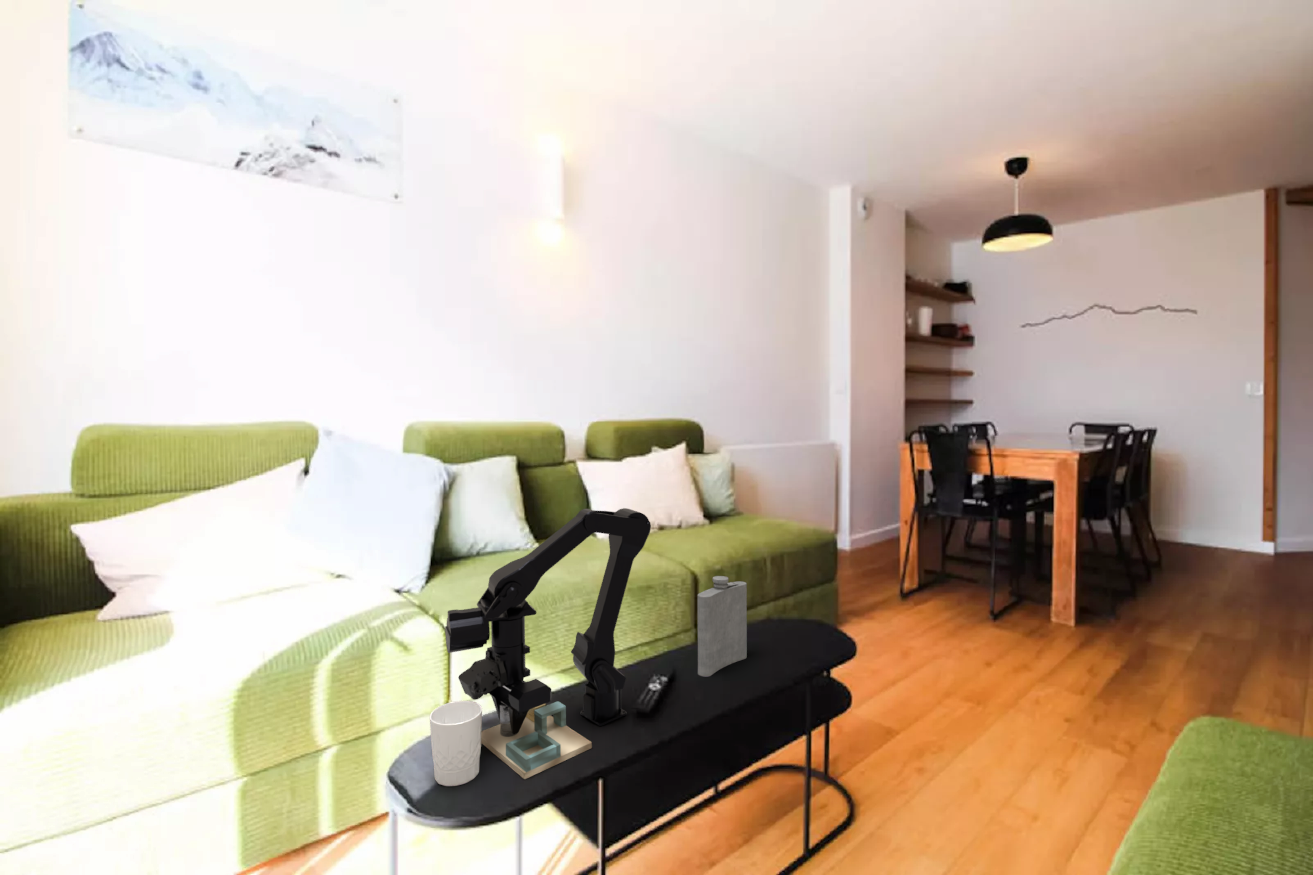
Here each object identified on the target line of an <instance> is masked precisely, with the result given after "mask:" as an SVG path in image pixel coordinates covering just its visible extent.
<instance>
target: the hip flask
mask: <svg viewBox="0 0 1313 875" xmlns="http://www.w3.org/2000/svg"><path fill="white" fill-rule="evenodd" d="M712 582H713V587H711V588H709V589H706V590H703V591H702V592H699V593H698V594H697V675H698V676H700V677H704V678H705V677H706V678H707V677H711V676H712V675H714V674H715V673H716V672H718V671H719V670H720V671H721V669H723V668H725V667H727V666H729V665H732V664H734V663H736V662H739V661H742V660H745V659H747V656H748V655H747V653H748V652H747V650H748V649H747V647H748V646H747V642H748V640H747V636H748V633H747V632H748V631H747V630H748V627H747V624H748V623H747V622H748V621H747V620H748V619H747V618H748V617H747V616H748V615H747V610H748V609H747V606H748V605H747V601H748V600H747V599H748V598H747V594H748V593H747V592H748V591H747V589H748V588H747V582H745V581H739V580H738V581H730V582H729V577H728V576H726V575H725V576H724V575H715V576H713V577H712Z"/></svg>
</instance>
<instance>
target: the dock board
mask: <svg viewBox="0 0 1313 875" xmlns="http://www.w3.org/2000/svg"><path fill="white" fill-rule="evenodd" d="M552 715H553V716H552ZM481 745H483V746H484V747H486V749H488V750H489V751H490V752H491V753H492V754H493V755H495V756H496V757H497V758H498V759H499V760H501V761H502V762H503V763H504V764H506V765H507V766H508V767H509V768H510V769H512V770H513V771H514V772H515V773H516V774H518V775H519V776H520V778H522V779H523V780H527V779H529V778H531V777H533V776H535V775H537V774H539V773H541V772H543V771H547V770H548V769H550V768H552V767H554V766H556V765H558V764H560V763H563V762H565V761H566V760H570V759H571V758H573V757H577V756H578V755H580V754H583V753H584V752H587V751H589V750H590V749H593V748H592V747H593V744H592V741H591V740H589V739H587V738H586V737H585V736H583V735H582V734H580V733H578V732H577V731H575V730H573V729H572V728H570V727H569V726H568V725H567V707H566V705H565V704H564V703H562V702H560V701H557V700H556V701H555V702H551V703H549V704H546V706H544V707H541V708H539V709H536V710H534V722H532V721H531V720H529V719H528V718H527V717H525V719H524V722H523V724H522V726H521V728H520V730H519V732H518V734H516V735H514V736H511V737H504V736H502V735H501V734H500V723H498V724H497V725H494V726H491V727H489V728H486V729H483V730H481Z"/></svg>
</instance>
